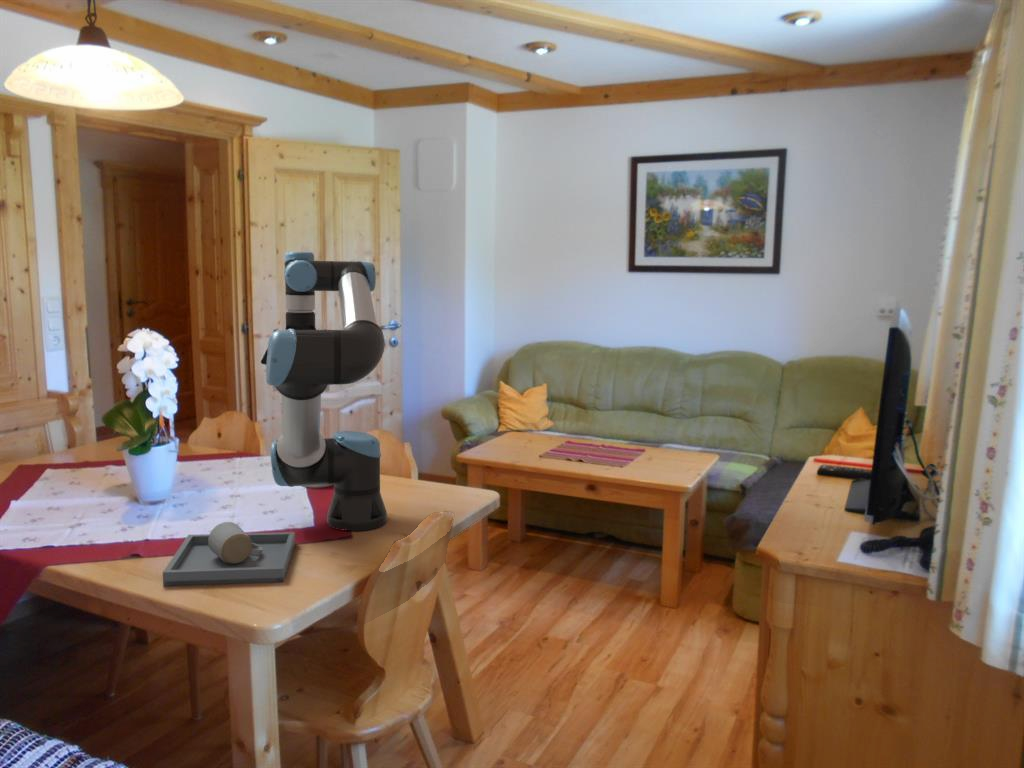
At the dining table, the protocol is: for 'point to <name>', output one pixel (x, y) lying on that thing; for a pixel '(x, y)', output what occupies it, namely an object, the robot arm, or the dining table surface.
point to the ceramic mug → (232, 543)
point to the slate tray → (207, 568)
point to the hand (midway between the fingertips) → (301, 390)
